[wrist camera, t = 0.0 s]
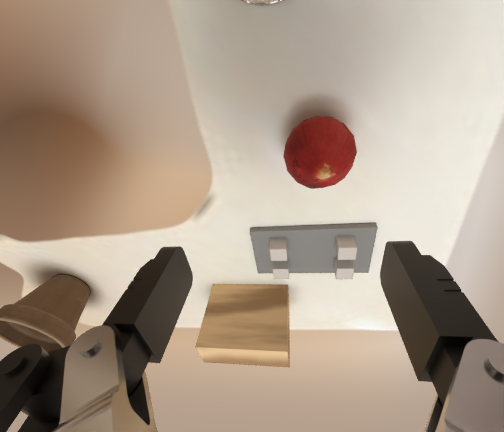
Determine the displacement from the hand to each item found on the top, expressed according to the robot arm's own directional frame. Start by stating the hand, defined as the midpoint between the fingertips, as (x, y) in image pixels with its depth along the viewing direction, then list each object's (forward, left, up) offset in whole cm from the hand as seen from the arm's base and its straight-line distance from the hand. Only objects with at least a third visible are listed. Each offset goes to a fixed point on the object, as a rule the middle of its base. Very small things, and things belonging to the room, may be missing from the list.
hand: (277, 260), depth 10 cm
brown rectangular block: (+27, -7, -17) cm, 33 cm away
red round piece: (+2, +3, -17) cm, 18 cm away
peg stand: (+17, +2, -17) cm, 24 cm away
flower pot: (+25, -40, -17) cm, 50 cm away
